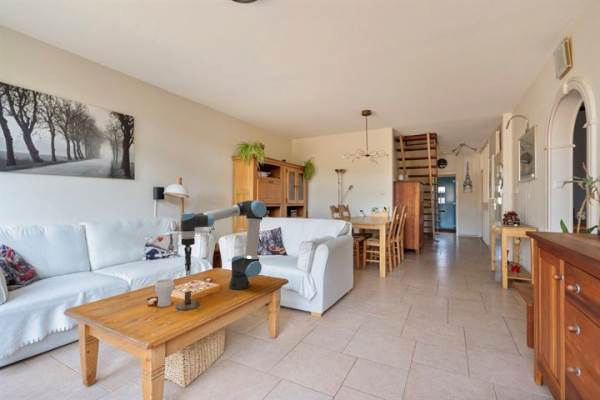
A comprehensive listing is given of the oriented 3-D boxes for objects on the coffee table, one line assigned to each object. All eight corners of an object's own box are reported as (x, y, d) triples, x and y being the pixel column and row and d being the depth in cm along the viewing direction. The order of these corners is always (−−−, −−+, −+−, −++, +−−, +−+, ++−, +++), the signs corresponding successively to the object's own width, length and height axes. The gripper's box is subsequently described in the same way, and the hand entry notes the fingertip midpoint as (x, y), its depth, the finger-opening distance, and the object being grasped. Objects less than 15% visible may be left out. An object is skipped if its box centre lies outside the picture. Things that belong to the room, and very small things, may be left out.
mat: (197, 302, 178) (197, 301, 178) (199, 309, 167) (199, 308, 167) (176, 305, 173) (176, 304, 173) (177, 312, 162) (177, 311, 162)
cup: (166, 309, 167) (166, 283, 167) (150, 307, 169) (150, 282, 169) (177, 302, 177) (177, 279, 177) (162, 301, 179) (162, 277, 179)
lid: (198, 301, 178) (198, 287, 179) (200, 308, 167) (200, 294, 167) (175, 304, 173) (176, 290, 173) (176, 311, 161) (176, 297, 161)
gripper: (181, 235, 180) (180, 269, 180) (181, 241, 157) (181, 279, 157) (193, 235, 183) (193, 268, 183) (196, 240, 160) (195, 277, 160)
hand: (187, 273), depth 170 cm, fingers open, 13 cm apart
